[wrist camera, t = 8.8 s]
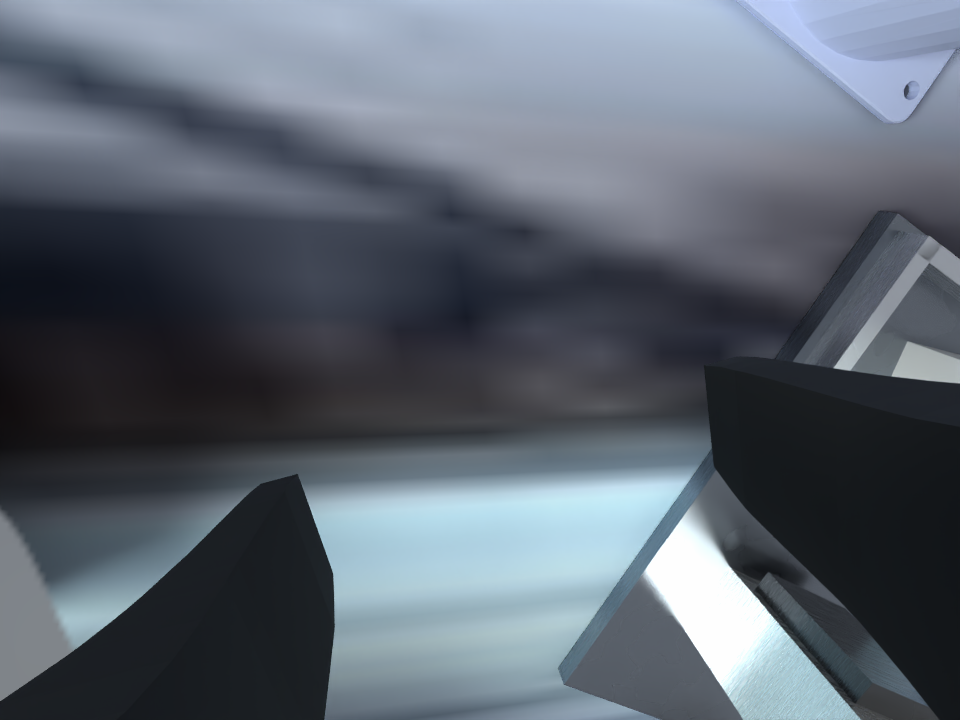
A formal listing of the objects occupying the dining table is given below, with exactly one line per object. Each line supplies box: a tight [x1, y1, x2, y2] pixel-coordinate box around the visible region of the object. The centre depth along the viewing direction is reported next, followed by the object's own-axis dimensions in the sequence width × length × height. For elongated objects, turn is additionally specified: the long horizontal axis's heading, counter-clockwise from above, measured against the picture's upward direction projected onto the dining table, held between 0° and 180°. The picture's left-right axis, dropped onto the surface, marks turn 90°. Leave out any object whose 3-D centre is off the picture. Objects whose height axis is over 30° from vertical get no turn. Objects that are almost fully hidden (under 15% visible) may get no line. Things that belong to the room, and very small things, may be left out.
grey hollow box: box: [558, 211, 960, 720], centre depth 21 cm, size 20×11×8 cm, turn 149°
